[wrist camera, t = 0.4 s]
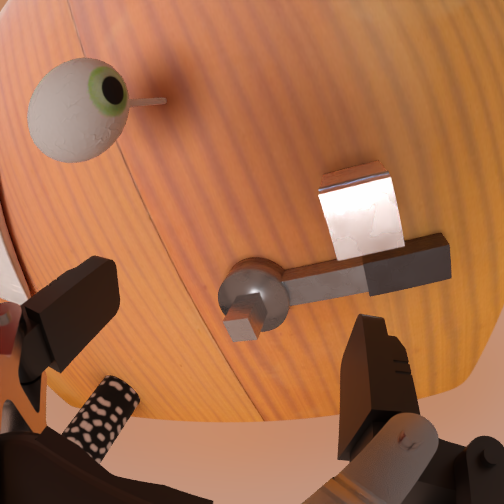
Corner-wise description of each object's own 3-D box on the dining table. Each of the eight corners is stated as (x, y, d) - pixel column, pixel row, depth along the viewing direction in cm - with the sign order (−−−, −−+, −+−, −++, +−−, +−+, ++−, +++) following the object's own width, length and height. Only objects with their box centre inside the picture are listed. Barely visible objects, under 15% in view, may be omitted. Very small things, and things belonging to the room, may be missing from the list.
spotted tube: (97, 376, 53) (43, 447, 36) (119, 373, 49) (60, 454, 32) (124, 404, 55) (77, 474, 38) (147, 403, 52) (97, 484, 34)
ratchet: (439, 214, 24) (464, 248, 18) (445, 279, 26) (464, 323, 20) (217, 265, 33) (189, 303, 27) (242, 318, 35) (221, 360, 29)
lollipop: (206, 124, 26) (89, 154, 13) (144, 145, 29) (24, 189, 16) (187, 54, 23) (62, 35, 11) (127, 82, 26) (1, 93, 13)
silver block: (379, 159, 24) (391, 176, 18) (392, 215, 25) (405, 246, 20) (322, 174, 26) (317, 194, 20) (338, 227, 27) (337, 261, 22)
